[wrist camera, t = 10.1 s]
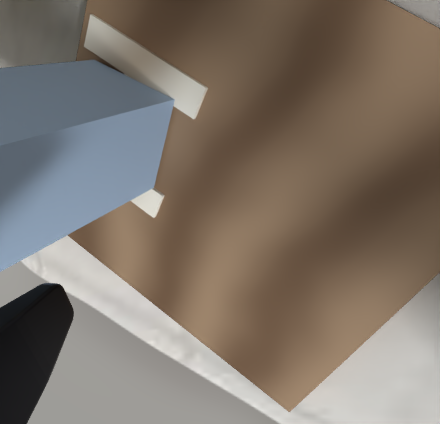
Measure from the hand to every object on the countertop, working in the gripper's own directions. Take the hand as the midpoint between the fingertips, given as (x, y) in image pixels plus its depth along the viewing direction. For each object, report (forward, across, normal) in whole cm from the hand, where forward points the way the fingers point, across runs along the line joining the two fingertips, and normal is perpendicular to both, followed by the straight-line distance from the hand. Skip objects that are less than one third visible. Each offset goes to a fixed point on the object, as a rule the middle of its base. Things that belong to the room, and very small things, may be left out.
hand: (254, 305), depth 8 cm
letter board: (+12, +3, +3) cm, 13 cm away
